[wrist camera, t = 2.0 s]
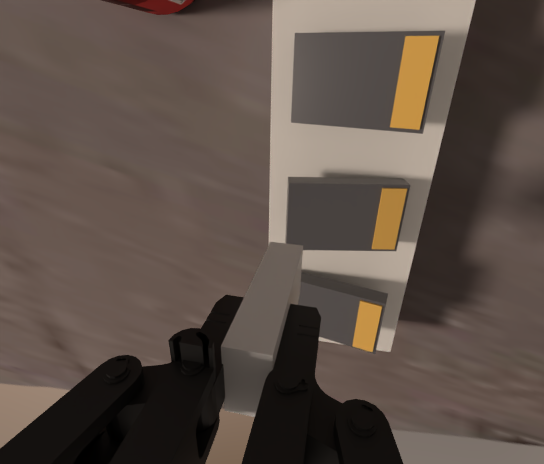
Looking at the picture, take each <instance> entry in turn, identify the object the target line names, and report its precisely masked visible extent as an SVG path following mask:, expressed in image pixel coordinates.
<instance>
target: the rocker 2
mask: <svg viewBox="0 0 544 464" xmlns="http://www.w3.org/2000/svg"><path fill="white" fill-rule="evenodd" d="M387 297H388V293H384V292H380V291H376V290H372V289H368V288H364V287H360V286H356V285H352V284H348V283H344V282H340V281H336V280H332V279H328V278H324V277H320V276H316V275H312V274H308V273H304V272H301V283H300V296H299V300H298V305H302V306H309V307H316V308H317V309H318V312H319V314H320V316H321V324H320V333H319V337H322V338H325V339H328V340H332V341H335V342H338V343H341V344H344V345H348V346H351V347H354V348H357V349H360V350H363V351H367V352H370V353H373V354H375V353H376V348H377V344H378V339H379V334H380V330H381V325H382V321H383V316H384V311H385V307H386V302H387Z"/></svg>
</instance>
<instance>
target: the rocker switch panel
mask: <svg viewBox="0 0 544 464" xmlns="http://www.w3.org/2000/svg"><path fill="white" fill-rule="evenodd" d="M475 1H476V0H273V18H272V78H271V138H270V197H269V244H270V242H278V243H285V235H286V211H287V187H288V177H337V178H398V179H404V180H405V181H406V182H408V183H409V184H410V190H409V194H408V199H407V204H406V208H405V213H404V218H403V222H402V227H401V232H400V236H399V241H398V246H397V250H396V251H333V250H303V255H302V269H301V272H304V273H308V274H312V275H316V276H320V277H324V278H328V279H332V280H336V281H340V282H344V283H348V284H352V285H356V286H360V287H364V288H368V289H372V290H376V291H380V292H384V293H388V297H387V302H386V307H385V311H384V316H383V321H382V325H381V330H380V334H379V339H378V344H377V348H376V350H380V351H386V352H390V351H391V347H392V342H393V338H394V334H395V330H396V326H397V322H398V318H399V314H400V310H401V305H402V301H403V297H404V293H405V289H406V285H407V281H408V277H409V273H410V269H411V264H412V260H413V256H414V252H415V248H416V244H417V240H418V236H419V232H420V227H421V223H422V219H423V215H424V211H425V207H426V203H427V199H428V195H429V190H430V186H431V182H432V178H433V174H434V170H435V166H436V162H437V158H438V153H439V149H440V145H441V141H442V137H443V133H444V129H445V125H446V121H447V117H448V112H449V108H450V104H451V100H452V96H453V92H454V88H455V84H456V80H457V75H458V71H459V67H460V63H461V59H462V55H463V51H464V47H465V43H466V38H467V34H468V30H469V26H470V22H471V18H472V14H473V10H474V6H475ZM385 31H445V34H444V39H443V44H442V48H441V53H440V57H439V62H438V67H437V71H436V76H435V81H434V85H433V90H432V94H431V99H430V104H429V108H428V113H427V117H426V122H425V127H424V131H423V134H419V133H407V132H395V131H384V130H372V129H360V128H348V127H337V126H325V125H313V124H301V123H291V109H292V85H293V62H294V39H295V33H321V32H385ZM319 341H324V342H331V343H337V344H341V343H338V342H335V341H332V340H328V339H325V338H322V337H319ZM343 345H344V344H343Z"/></svg>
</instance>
